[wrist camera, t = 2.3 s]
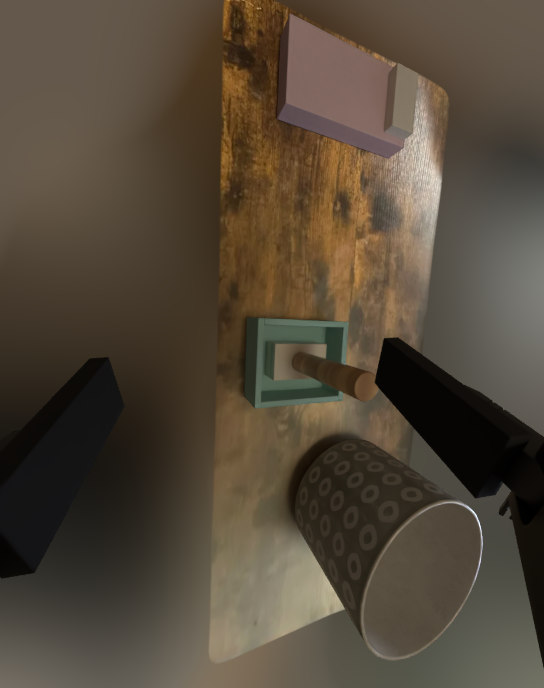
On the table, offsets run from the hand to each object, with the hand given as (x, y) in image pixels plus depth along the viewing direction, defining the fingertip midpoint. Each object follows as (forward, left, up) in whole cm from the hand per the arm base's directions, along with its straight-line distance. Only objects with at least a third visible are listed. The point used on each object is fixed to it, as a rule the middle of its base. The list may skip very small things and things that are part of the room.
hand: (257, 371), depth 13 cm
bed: (-2, +39, -24) cm, 46 cm away
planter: (+34, -10, -24) cm, 43 cm away
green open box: (+13, +4, -24) cm, 27 cm away
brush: (+13, +4, -23) cm, 27 cm away
